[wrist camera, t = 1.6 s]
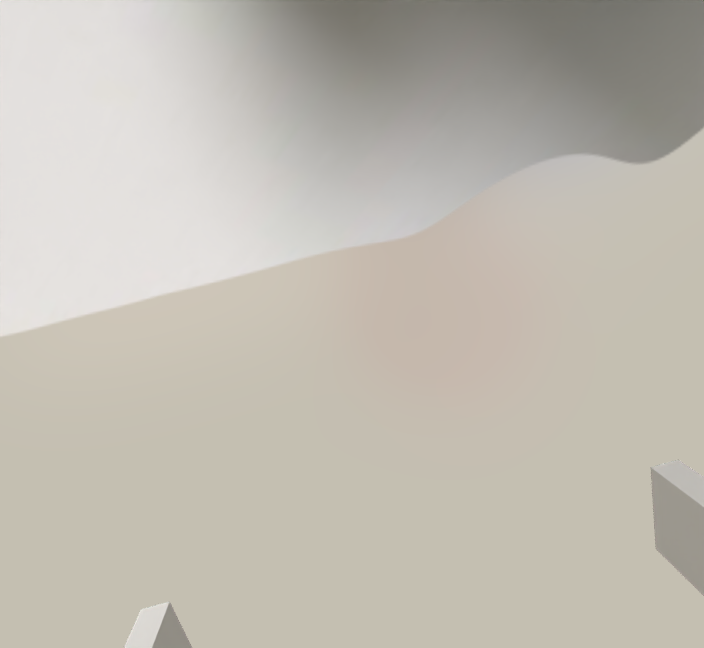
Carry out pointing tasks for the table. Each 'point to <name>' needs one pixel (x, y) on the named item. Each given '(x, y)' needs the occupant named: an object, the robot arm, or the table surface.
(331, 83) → the table surface
